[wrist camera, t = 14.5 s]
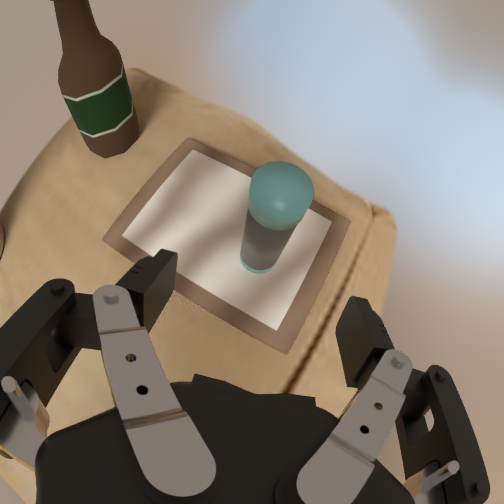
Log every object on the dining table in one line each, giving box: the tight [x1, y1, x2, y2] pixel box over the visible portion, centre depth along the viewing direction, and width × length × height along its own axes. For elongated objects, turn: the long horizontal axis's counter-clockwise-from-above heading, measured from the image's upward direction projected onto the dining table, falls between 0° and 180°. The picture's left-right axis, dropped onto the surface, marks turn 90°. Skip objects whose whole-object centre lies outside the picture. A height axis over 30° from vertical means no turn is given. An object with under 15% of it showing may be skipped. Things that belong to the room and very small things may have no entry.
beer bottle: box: [51, 0, 138, 158], centre depth 21 cm, size 8×8×24 cm
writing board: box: [102, 138, 350, 354], centre depth 29 cm, size 22×16×1 cm
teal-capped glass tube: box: [240, 162, 314, 274], centre depth 22 cm, size 4×4×12 cm
